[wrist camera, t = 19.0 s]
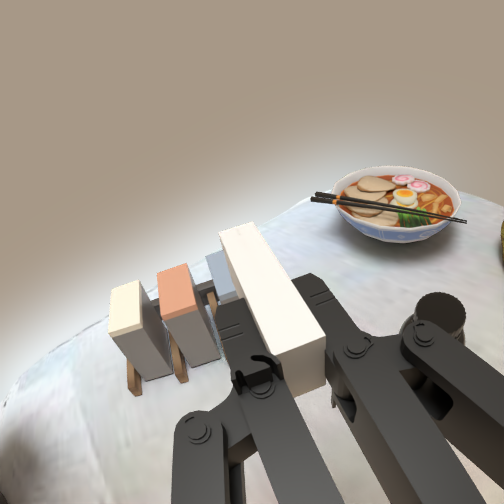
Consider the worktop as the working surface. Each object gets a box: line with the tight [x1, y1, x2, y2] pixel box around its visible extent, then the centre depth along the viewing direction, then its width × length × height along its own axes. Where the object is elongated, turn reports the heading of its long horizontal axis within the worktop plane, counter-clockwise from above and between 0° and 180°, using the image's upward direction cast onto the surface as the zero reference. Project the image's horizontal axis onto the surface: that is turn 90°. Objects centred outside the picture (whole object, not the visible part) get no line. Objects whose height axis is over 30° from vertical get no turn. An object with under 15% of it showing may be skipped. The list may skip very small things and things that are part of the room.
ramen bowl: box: [310, 166, 467, 243], centre depth 51 cm, size 25×23×8 cm
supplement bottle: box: [399, 292, 466, 346], centre depth 27 cm, size 7×7×12 cm
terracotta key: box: [157, 263, 221, 368], centre depth 39 cm, size 8×4×10 cm, turn 17°
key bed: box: [127, 279, 229, 396], centre depth 42 cm, size 14×20×3 cm
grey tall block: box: [108, 280, 173, 381], centre depth 38 cm, size 8×4×10 cm, turn 17°
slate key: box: [205, 250, 239, 305], centre depth 40 cm, size 8×4×10 cm, turn 17°
